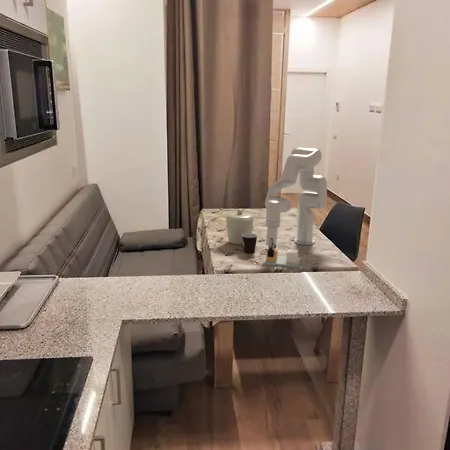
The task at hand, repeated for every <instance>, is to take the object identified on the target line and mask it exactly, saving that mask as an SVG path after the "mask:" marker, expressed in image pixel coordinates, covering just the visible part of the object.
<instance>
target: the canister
mask: <svg viewBox="0 0 450 450" xmlns="http://www.w3.org/2000/svg"><path fill="white" fill-rule="evenodd" d="M224 218H225V221H226V230H227V239H228V242H229V243H231V244H233V245H237V246H241V245H242V246H243V239H242V235H243V234H246V233H252V232H253V228H254V219H256V216H255V215H253V214H252V213H250V212H245V211H244V209H242V208H238V209H237V210H236V211H233V212H229V213H227V214H226V215H225V216H224Z"/></svg>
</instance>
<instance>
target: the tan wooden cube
mask: <svg viewBox="0 0 450 450" xmlns="http://www.w3.org/2000/svg"><path fill="white" fill-rule="evenodd" d="M265 250H266V252H265V253H266V254H265V256H266V260H268V261H277V258H278V256H279V248H277V247H276V248H274V257H268V247H266V249H265Z"/></svg>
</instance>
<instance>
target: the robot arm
mask: <svg viewBox="0 0 450 450" xmlns="http://www.w3.org/2000/svg"><path fill="white" fill-rule="evenodd" d="M322 157H323V155H322V152H321V151H320V150H319V149H318V148H309V147H296V148H295V147H294V148H293V149H292V150H291V154H290V155H288V156H287V158H286V161H285V163H284V167H283V171H282V173H281V177H280V178H279V179H278V180H277V181H275V182H274V184H272V186H270V188H269V189H268V191H267V194H266V197H265V201H264V206H265V210H266V211H265V212H266V213H265V214H266V215H265V227H267V228H266V229H267V230H266V240H265V241H266V242H265V244H266V246H268V247H267V248H268V257H274V248H277V242H278V233H279V232H278V229H279V228H280V227H281V216H282V215H281V214H283V213H287V212H289V211H290V210H291V209H292V206H293V205H292V201H291V200H290V199H288V198H284V197H279V196H276V195H277V193H278V192H280V191H282V190H283V189H287V188H289V187H292V186H294V185H295V184H296V182H297V179H298V176H299V187H300V189H301V190H303V191H301V192H299V193H298V195H297V208H298V210H297V211H298V212H297V213H298V215H297V230H296V232H297V233H296V237H295V238H294V240H293V241H294V243H295V244H297V245H303V246H305V245H306V246H307V245H308V246H310V245H314V244H315V243H316V240H315V239H314V237H313V236H314V221H315V220H314V219H315V218H314V217H315V215H314V211H313V209H314V210H324V209H325V208H326V206H327V201H328V199H327V198H328V182H327V179H326V177H325V176H323V175H318V174H317V175H316V174H315V167H316V166H317V165H319V163H320V162H321V160H322Z"/></svg>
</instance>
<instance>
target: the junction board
mask: <svg viewBox="0 0 450 450" xmlns="http://www.w3.org/2000/svg"><path fill="white" fill-rule="evenodd" d="M298 256H299V249H291V248H289V249H288V248H287V251H286V255H278V258H277V261H268V260H266V255H264V259H263V260H262V265H264V266H273V265H278V266H277V267H284V266H285V268H286V267H287V268H296V267H297V268H299V267H300V262H301V257H298Z"/></svg>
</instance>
